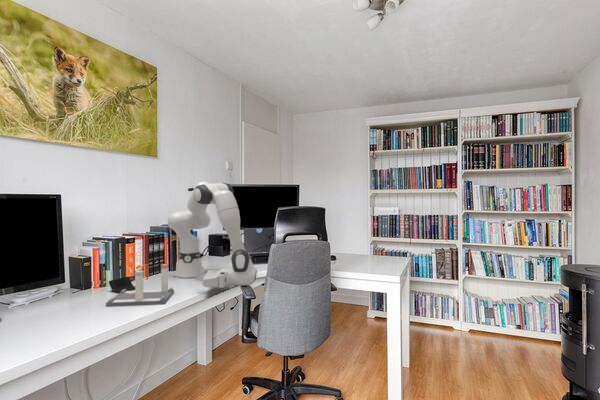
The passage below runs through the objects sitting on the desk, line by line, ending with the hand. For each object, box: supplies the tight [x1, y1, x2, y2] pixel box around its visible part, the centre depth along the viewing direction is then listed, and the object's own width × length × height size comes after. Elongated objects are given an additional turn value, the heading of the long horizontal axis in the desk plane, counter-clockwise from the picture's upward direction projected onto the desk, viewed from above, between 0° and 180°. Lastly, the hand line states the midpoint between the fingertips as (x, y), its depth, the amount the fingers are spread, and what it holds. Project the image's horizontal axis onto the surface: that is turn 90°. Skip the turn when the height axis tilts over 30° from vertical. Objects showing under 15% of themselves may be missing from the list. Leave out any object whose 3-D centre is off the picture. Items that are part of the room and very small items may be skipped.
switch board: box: [105, 287, 175, 308], centre depth 148 cm, size 18×24×2 cm
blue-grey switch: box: [134, 270, 145, 301], centre depth 142 cm, size 3×3×13 cm
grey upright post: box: [160, 263, 169, 291], centre depth 157 cm, size 3×3×13 cm
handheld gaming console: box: [108, 276, 135, 295], centre depth 163 cm, size 12×7×10 cm
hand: (195, 278), depth 159 cm, fingers closed
